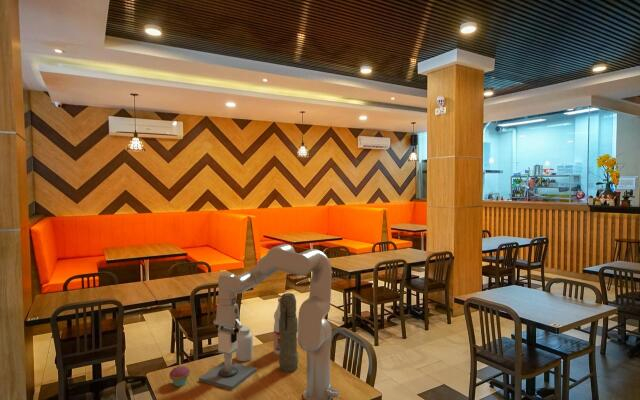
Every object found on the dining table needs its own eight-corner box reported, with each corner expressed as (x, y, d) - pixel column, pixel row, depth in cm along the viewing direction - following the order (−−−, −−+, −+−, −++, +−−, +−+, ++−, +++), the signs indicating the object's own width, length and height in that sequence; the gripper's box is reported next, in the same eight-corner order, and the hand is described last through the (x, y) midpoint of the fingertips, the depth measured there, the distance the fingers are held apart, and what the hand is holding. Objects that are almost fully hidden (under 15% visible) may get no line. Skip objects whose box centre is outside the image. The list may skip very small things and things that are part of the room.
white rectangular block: (237, 349, 177) (237, 328, 177) (229, 355, 172) (228, 332, 171) (226, 347, 180) (226, 326, 179) (218, 352, 174) (217, 330, 174)
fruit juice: (286, 346, 208) (285, 294, 206) (295, 352, 200) (295, 299, 199) (270, 351, 202) (270, 298, 201) (280, 357, 194) (279, 302, 193)
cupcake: (169, 380, 172) (169, 354, 172) (190, 377, 175) (189, 351, 175) (169, 390, 164) (169, 362, 164) (190, 386, 167) (190, 359, 167)
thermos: (275, 373, 179) (275, 297, 177) (282, 361, 190) (282, 290, 189) (294, 374, 177) (294, 298, 176) (300, 363, 189) (300, 291, 187)
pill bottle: (249, 362, 189) (248, 332, 189) (233, 361, 191) (233, 330, 190) (255, 355, 197) (254, 326, 197) (240, 354, 199) (239, 325, 198)
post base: (256, 371, 181) (256, 344, 180) (232, 390, 164) (231, 361, 164) (225, 363, 188) (224, 338, 187) (198, 381, 172) (198, 353, 171)
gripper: (248, 301, 174) (248, 340, 175) (217, 296, 182) (218, 334, 182) (238, 305, 168) (238, 347, 168) (206, 301, 175) (207, 340, 176)
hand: (227, 340), depth 175 cm, fingers closed on white rectangular block, 6 cm apart
